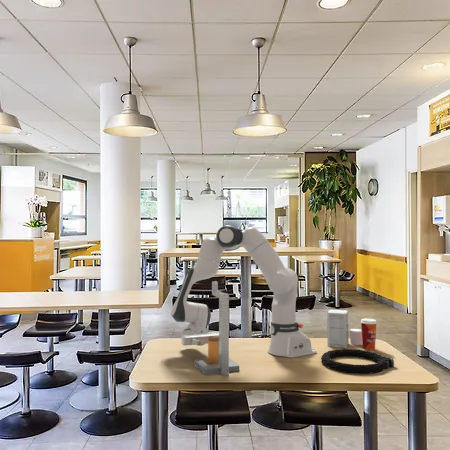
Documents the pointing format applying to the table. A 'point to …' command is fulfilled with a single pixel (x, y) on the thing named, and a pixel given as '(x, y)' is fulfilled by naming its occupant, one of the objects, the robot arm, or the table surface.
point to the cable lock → (359, 369)
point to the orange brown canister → (213, 349)
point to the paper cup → (368, 333)
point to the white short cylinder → (355, 336)
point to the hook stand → (223, 329)
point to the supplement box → (337, 328)
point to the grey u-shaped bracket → (214, 367)
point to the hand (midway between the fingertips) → (209, 342)
